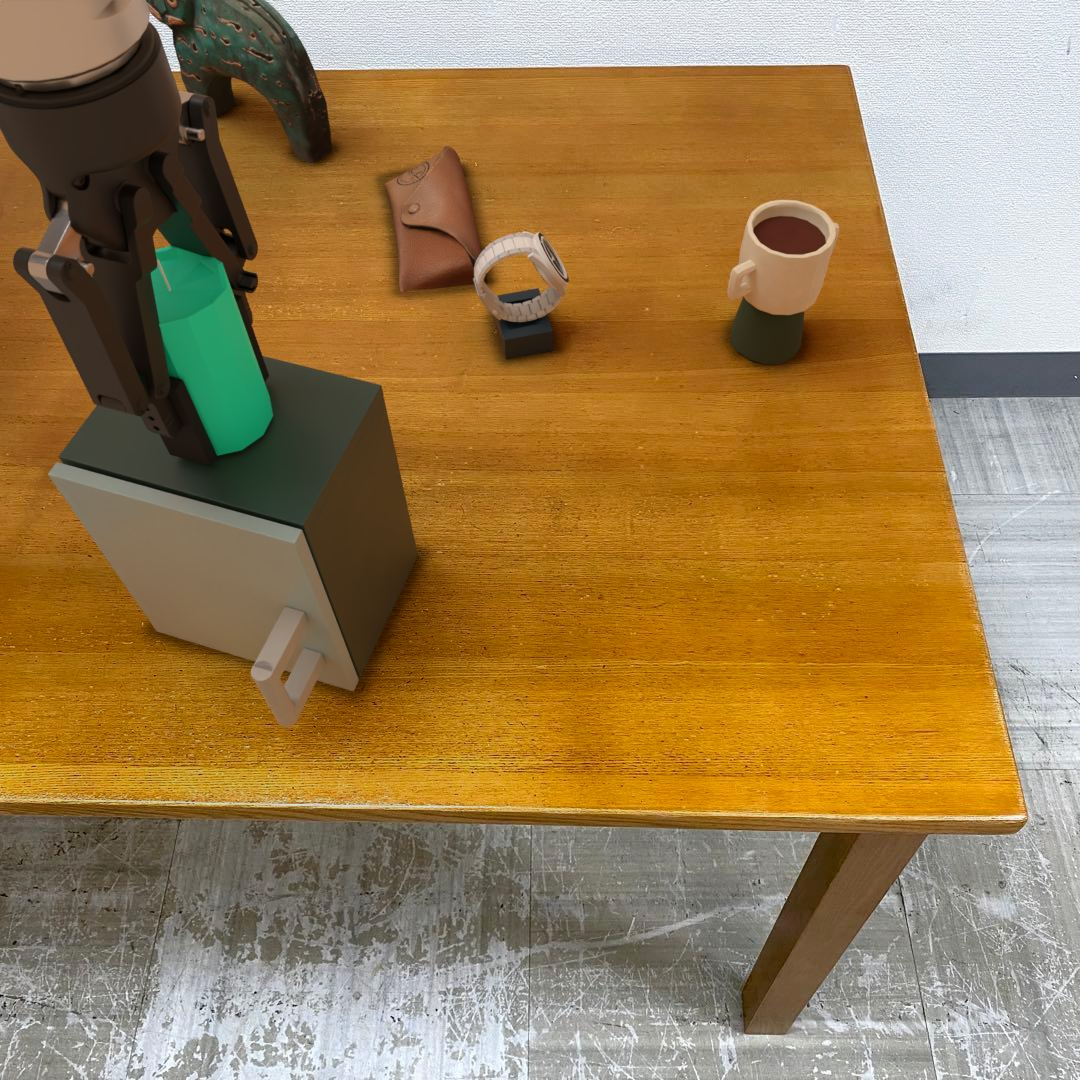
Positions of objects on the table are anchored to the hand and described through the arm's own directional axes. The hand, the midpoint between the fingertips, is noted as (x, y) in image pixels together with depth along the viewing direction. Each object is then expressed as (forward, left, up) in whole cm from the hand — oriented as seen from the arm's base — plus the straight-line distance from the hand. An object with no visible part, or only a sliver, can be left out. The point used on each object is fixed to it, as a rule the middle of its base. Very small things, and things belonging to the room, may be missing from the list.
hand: (220, 413), depth 61 cm
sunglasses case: (-5, +41, -21) cm, 46 cm away
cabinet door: (0, -9, -20) cm, 22 cm away
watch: (+8, +30, -21) cm, 38 cm away
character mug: (+29, +36, -21) cm, 51 cm away
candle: (0, 0, 0) cm, 0 cm away
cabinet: (0, 0, -21) cm, 21 cm away
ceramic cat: (-29, +51, -21) cm, 63 cm away
